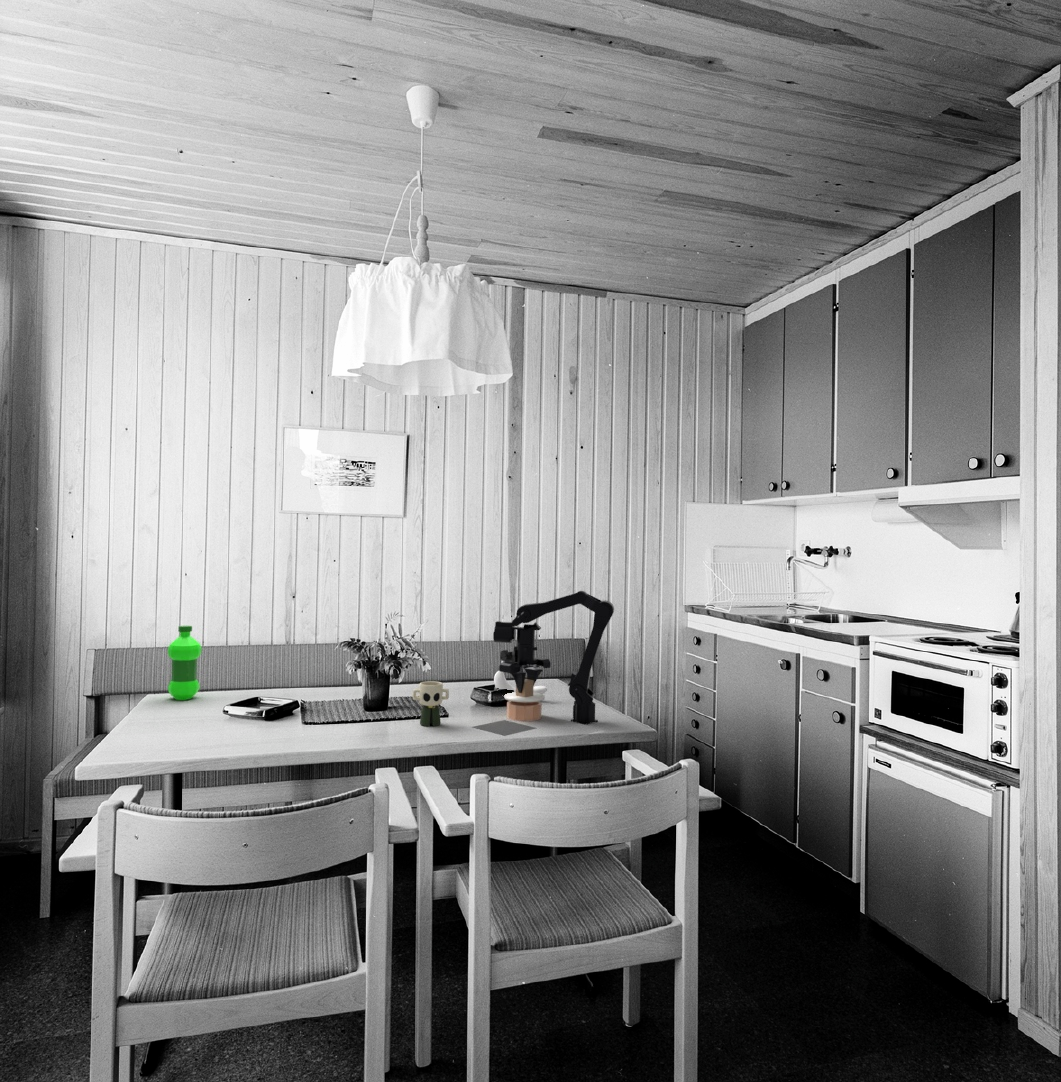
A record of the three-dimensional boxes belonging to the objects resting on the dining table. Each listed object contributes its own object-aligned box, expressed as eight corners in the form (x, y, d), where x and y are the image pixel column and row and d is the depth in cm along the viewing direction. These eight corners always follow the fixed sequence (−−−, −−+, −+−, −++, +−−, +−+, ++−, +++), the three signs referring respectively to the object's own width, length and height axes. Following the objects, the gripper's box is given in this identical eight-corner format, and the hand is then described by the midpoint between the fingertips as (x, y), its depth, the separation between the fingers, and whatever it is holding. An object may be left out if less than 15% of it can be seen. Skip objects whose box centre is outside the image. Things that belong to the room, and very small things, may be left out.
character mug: (413, 729, 232) (413, 685, 232) (411, 723, 239) (412, 681, 239) (449, 728, 234) (450, 685, 234) (446, 722, 241) (447, 680, 241)
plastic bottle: (166, 696, 271) (168, 625, 271) (199, 694, 275) (201, 624, 275) (166, 702, 261) (168, 628, 262) (200, 700, 266) (202, 627, 266)
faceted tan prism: (547, 718, 250) (548, 703, 250) (524, 723, 242) (525, 707, 242) (523, 713, 257) (523, 698, 257) (500, 718, 249) (500, 702, 249)
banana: (547, 702, 276) (548, 661, 276) (493, 702, 274) (494, 660, 274) (545, 699, 281) (546, 659, 281) (493, 699, 279) (494, 658, 279)
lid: (552, 698, 250) (553, 680, 250) (525, 704, 240) (525, 685, 241) (523, 692, 259) (524, 675, 259) (495, 697, 249) (496, 679, 249)
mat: (536, 729, 235) (536, 727, 235) (504, 737, 225) (504, 735, 225) (504, 721, 244) (504, 720, 244) (471, 728, 234) (471, 727, 234)
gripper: (527, 638, 262) (526, 685, 262) (487, 643, 248) (486, 692, 248) (552, 642, 254) (551, 689, 254) (512, 647, 241) (511, 697, 241)
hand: (524, 692), depth 250 cm, fingers closed on lid, 4 cm apart
